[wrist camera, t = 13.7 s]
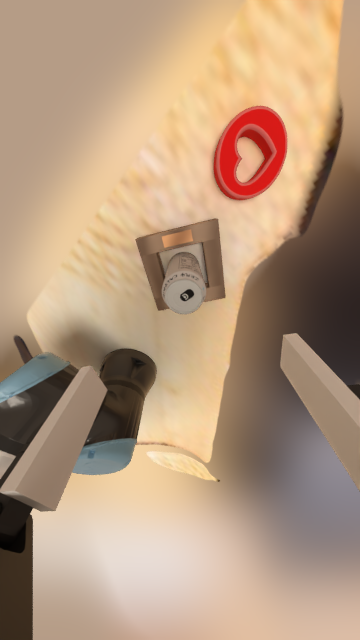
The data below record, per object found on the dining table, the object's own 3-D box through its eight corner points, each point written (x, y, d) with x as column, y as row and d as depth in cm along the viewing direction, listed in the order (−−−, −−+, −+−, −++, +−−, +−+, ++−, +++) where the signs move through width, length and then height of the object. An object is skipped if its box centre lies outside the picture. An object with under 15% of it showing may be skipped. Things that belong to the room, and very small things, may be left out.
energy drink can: (162, 264, 35) (150, 293, 22) (186, 244, 33) (188, 263, 20) (181, 287, 37) (180, 325, 24) (204, 269, 35) (216, 301, 22)
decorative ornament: (284, 176, 28) (295, 172, 25) (227, 212, 30) (231, 212, 28) (267, 97, 23) (278, 81, 21) (202, 146, 26) (205, 138, 23)
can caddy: (160, 304, 39) (158, 311, 36) (139, 237, 32) (135, 239, 29) (222, 292, 38) (225, 298, 35) (215, 218, 31) (218, 219, 28)
